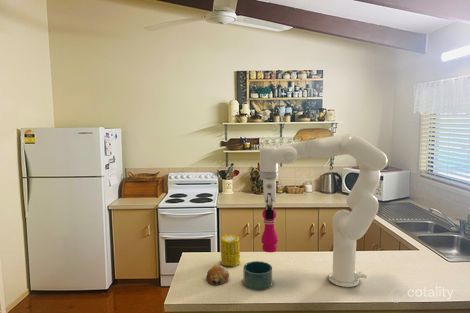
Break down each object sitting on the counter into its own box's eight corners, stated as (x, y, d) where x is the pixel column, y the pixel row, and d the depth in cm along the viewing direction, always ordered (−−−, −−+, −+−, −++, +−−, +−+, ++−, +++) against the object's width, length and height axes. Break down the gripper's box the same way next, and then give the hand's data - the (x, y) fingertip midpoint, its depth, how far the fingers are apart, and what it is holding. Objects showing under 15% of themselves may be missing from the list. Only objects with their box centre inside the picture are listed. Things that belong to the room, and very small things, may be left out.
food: (239, 262, 165) (236, 272, 155) (218, 256, 166) (213, 265, 156) (246, 235, 162) (243, 243, 152) (224, 229, 163) (219, 237, 153)
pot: (271, 276, 146) (271, 261, 146) (272, 290, 134) (272, 274, 133) (244, 275, 148) (244, 260, 147) (242, 289, 135) (242, 273, 134)
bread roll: (231, 287, 144) (234, 268, 146) (219, 286, 135) (223, 267, 138) (212, 281, 149) (216, 264, 151) (200, 281, 140) (205, 262, 143)
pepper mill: (267, 245, 144) (266, 202, 142) (281, 249, 140) (280, 204, 138) (258, 250, 139) (257, 205, 137) (272, 254, 134) (271, 208, 132)
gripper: (278, 178, 127) (279, 222, 129) (277, 172, 144) (277, 210, 146) (259, 178, 128) (260, 222, 130) (260, 172, 145) (260, 210, 147)
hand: (269, 216), depth 138 cm, fingers closed on pepper mill, 6 cm apart
